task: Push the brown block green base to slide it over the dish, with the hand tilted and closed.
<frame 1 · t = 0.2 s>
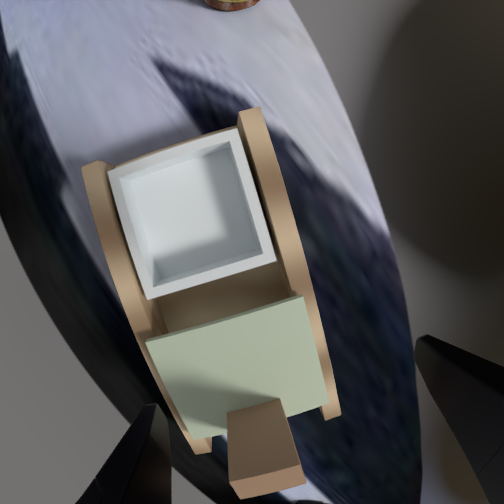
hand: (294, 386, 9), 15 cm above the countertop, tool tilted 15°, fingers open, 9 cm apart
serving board: (239, 348, 25), on the countertop
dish: (194, 213, 23), resting on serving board
brown block green base: (245, 405, 17), point 8 cm above the countertop, slide at 0.0 cm
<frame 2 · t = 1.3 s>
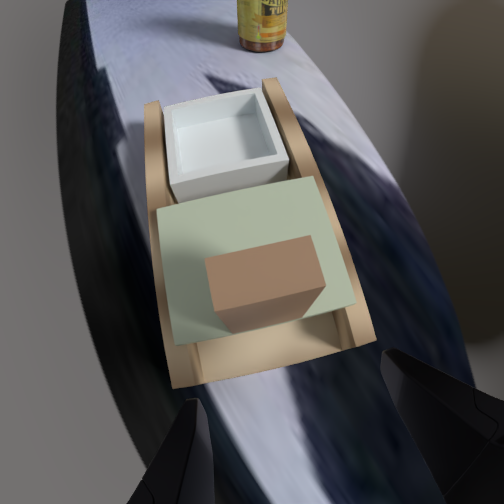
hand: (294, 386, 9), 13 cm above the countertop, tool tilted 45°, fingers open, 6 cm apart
sauce bottle: (262, 44, 35), on the countertop
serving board: (252, 277, 24), on the countertop
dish: (223, 152, 27), resting on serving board
brown block green base: (247, 230, 16), point 8 cm above the countertop, slide at 0.0 cm
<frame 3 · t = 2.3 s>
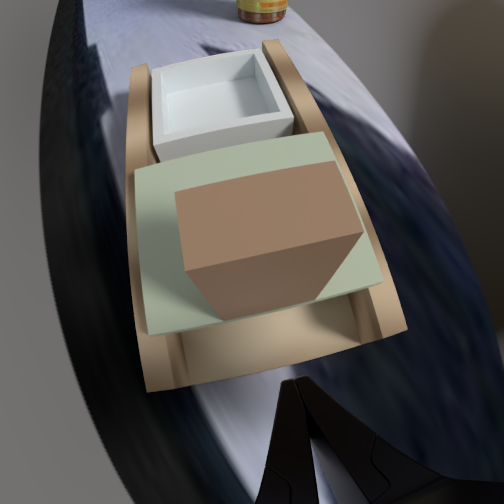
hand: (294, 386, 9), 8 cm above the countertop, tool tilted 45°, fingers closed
sauce bottle: (262, 17, 31), on the countertop
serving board: (250, 255, 19), on the countertop
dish: (218, 117, 23), resting on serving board
brown block green base: (243, 179, 12), point 8 cm above the countertop, slide at 0.0 cm
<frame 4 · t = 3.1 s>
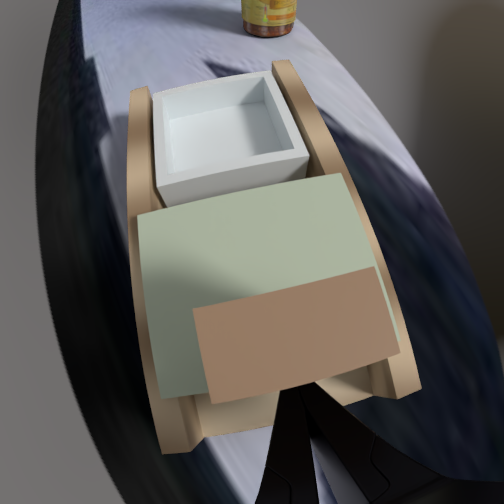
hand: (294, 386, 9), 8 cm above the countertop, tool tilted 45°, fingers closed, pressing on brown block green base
sauce bottle: (269, 29, 30), on the countertop
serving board: (262, 305, 18), on the countertop
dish: (225, 148, 22), resting on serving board
brown block green base: (260, 248, 11), point 8 cm above the countertop, slide at 0.2 cm, touching gripper
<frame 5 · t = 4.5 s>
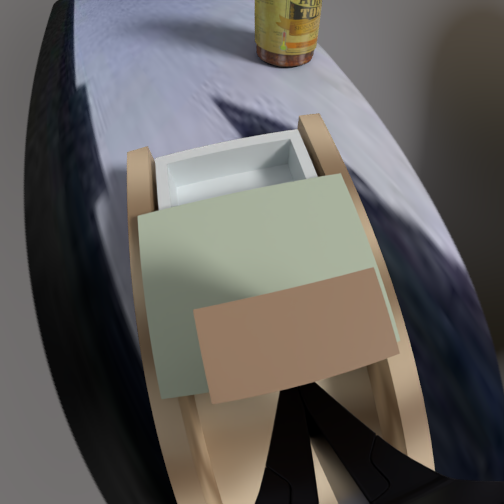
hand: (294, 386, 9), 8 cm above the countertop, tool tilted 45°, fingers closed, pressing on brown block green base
sauce bottle: (285, 55, 28), on the countertop
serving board: (288, 414, 16), on the countertop
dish: (244, 228, 20), resting on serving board
brown block green base: (260, 248, 11), point 8 cm above the countertop, slide at 7.0 cm, touching gripper
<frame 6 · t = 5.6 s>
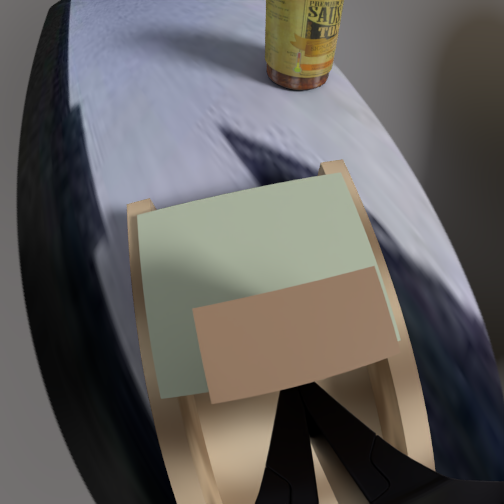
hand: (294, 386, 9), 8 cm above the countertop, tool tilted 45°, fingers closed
sauce bottle: (298, 75, 27), on the countertop
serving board: (303, 474, 15), on the countertop
brown block green base: (260, 247, 11), point 8 cm above the countertop, slide at 11.1 cm
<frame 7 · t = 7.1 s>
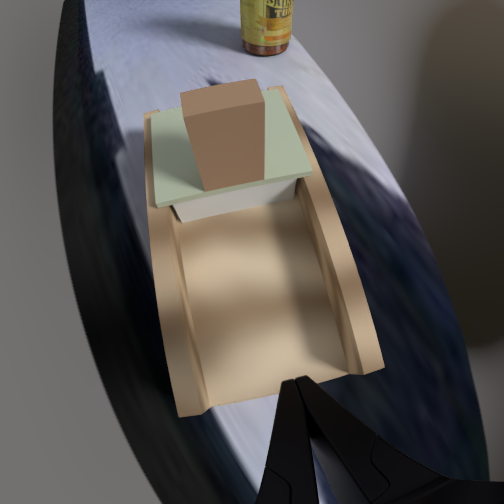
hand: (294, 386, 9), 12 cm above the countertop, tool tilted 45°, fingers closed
sauce bottle: (266, 47, 34), on the countertop
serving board: (258, 298, 23), on the countertop
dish: (227, 165, 26), resting on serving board
brown block green base: (218, 105, 19), point 8 cm above the countertop, slide at 11.1 cm
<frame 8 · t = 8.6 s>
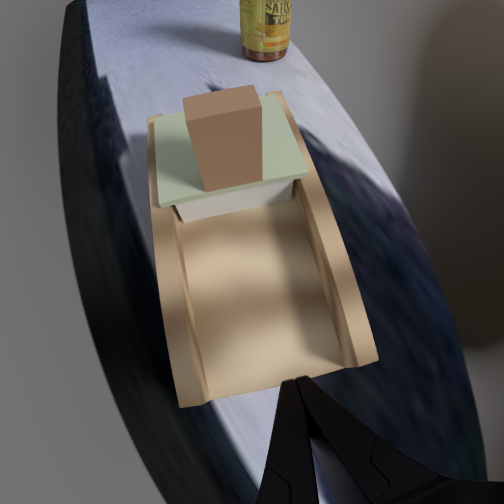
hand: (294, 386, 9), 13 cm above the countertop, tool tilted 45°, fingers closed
sauce bottle: (265, 53, 36), on the countertop
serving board: (256, 295, 24), on the countertop
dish: (227, 168, 27), resting on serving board
brown block green base: (218, 110, 20), point 8 cm above the countertop, slide at 11.1 cm
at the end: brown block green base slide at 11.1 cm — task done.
